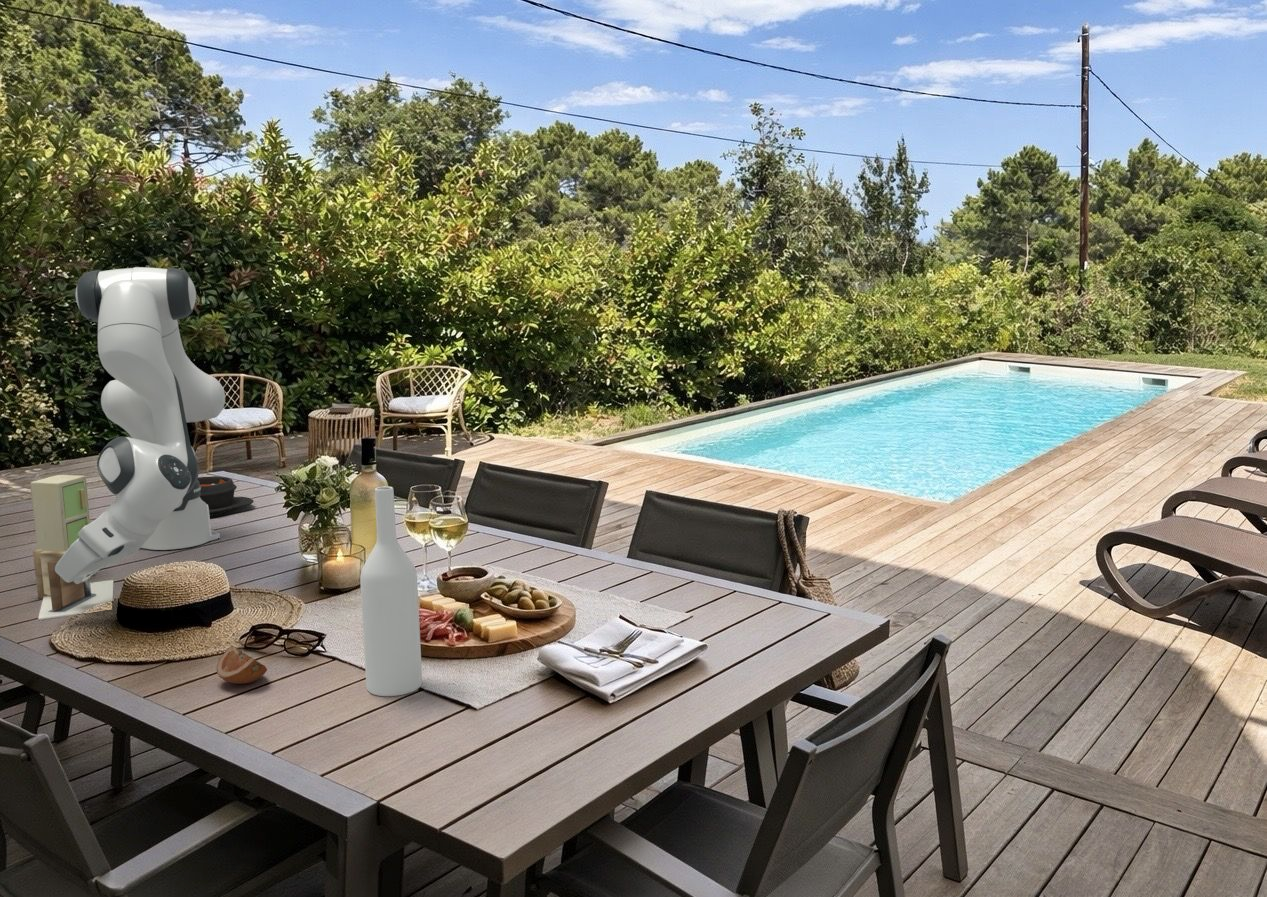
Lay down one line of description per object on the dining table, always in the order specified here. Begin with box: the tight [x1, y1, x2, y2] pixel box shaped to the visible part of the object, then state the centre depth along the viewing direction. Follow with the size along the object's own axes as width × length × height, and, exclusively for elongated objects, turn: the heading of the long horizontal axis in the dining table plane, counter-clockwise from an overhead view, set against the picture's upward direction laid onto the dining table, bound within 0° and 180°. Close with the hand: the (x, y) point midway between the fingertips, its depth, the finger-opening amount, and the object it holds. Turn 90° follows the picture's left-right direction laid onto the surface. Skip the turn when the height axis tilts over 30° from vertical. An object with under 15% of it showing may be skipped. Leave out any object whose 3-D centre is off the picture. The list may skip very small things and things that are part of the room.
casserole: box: [198, 476, 254, 516], centre depth 273 cm, size 25×19×8 cm
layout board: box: [37, 579, 114, 621], centre depth 199 cm, size 21×12×1 cm, turn 26°
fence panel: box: [47, 561, 85, 610], centre depth 194 cm, size 8×2×9 cm, turn 175°
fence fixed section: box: [32, 548, 91, 599], centre depth 200 cm, size 10×2×10 cm, turn 86°
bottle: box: [359, 485, 423, 697], centre depth 152 cm, size 8×8×30 cm
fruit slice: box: [216, 644, 268, 685], centre depth 156 cm, size 8×7×5 cm
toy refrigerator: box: [29, 474, 96, 576], centre depth 212 cm, size 8×7×21 cm
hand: (78, 579), depth 193 cm, fingers closed
